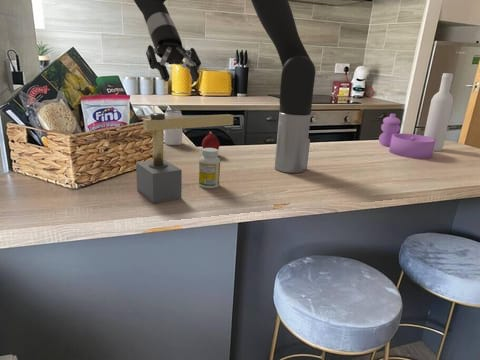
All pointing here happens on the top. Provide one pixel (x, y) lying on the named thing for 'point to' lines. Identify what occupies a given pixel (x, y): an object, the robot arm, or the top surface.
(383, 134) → the container set
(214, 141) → the red apple
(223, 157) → the top surface
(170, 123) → the tan latch lever
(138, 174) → the block
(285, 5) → the robot arm
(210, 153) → the supplement bottle
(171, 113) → the can
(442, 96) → the bottle
